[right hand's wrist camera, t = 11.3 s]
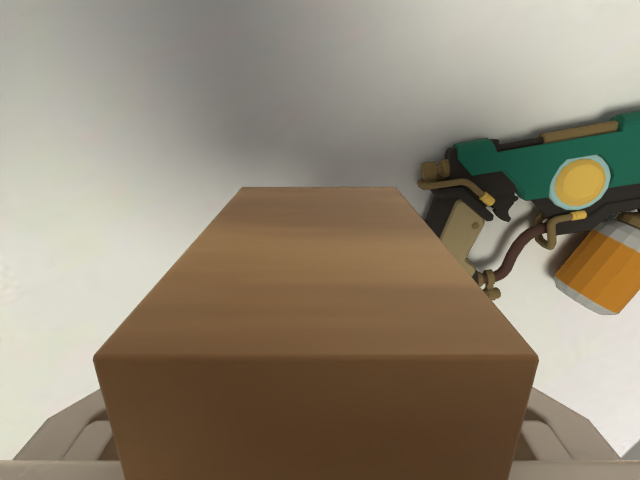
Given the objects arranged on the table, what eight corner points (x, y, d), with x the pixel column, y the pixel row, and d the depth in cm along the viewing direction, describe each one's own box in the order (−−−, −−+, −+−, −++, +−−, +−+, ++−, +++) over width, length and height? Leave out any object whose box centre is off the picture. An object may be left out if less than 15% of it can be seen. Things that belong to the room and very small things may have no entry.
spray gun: (393, 290, 29) (429, 80, 24) (615, 316, 28) (699, 105, 23) (400, 318, 25) (446, 72, 20) (659, 349, 24) (772, 103, 19)
